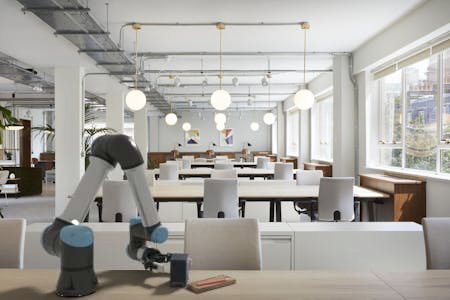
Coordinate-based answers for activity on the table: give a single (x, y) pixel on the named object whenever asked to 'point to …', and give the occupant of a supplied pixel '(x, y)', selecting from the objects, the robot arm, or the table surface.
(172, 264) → the small box
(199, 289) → the wooden board
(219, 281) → the carpenter pencil
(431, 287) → the table surface
